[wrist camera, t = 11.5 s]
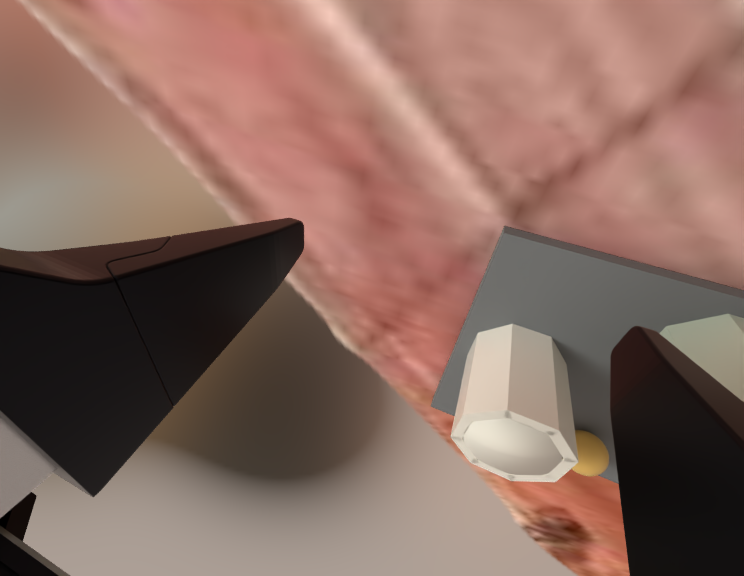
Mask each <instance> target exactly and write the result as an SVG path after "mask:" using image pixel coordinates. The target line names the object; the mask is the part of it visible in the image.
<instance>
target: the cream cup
mask: <svg viewBox="0 0 744 576" xmlns="http://www.w3.org/2000/svg"><path fill="white" fill-rule="evenodd" d="M451 438H452V439H453V441H454V442H455V443H456V445H457V446H458V447H459V448H460V450H461V451H462V452H463V454H464V455H465V456H466V458H467V459H468V460H469V461H470V463H472V464H474V465H476V466H479V467H481V468H483V469H486V470H488V471H490V472H492V473H495V474H497V475H499V476H501V477H504V478H506V479H508V480H510V481H534V482H556V481H557V480H559V479H560V478H561V477H562V476H563V475H564V474H566V473H567V472H568V471H569V470H570V469H571V468H572V467H574V466H575V465H576V464H577V463H578V462H579V461H578V453H577V445H576V437H575V429H574V421H573V413H572V405H571V397H570V389H569V381H568V373H567V365H566V362H565V360H564V359H563V357H562V355H561V353H560V352H559V350H558V348H557V346H556V344H555V343H554V341H553V339H552V337H551V336H548V335H545V334H542V333H539V332H536V331H533V330H530V329H527V328H524V327H521V326H518V325H515V324H509V325H506V326H502V327H498V328H494V329H490V330H486V331H483V332H479V333H478V334H477V336H476V338H475V340H474V342H473V344H472V346H471V349H470V351H469V353H468V355H467V359H466V364H465V369H464V374H463V379H462V384H461V389H460V393H459V398H458V403H457V408H456V413H455V418H454V423H453V428H452V433H451Z"/></svg>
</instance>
